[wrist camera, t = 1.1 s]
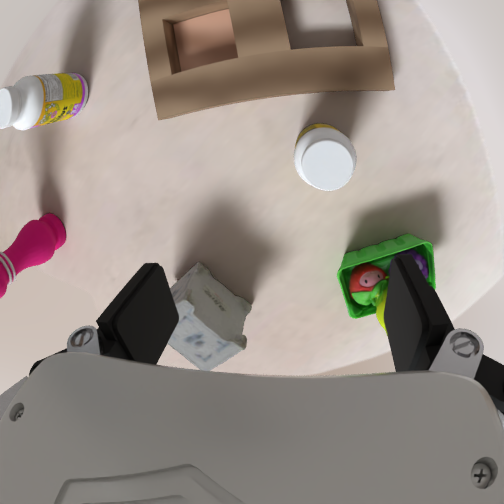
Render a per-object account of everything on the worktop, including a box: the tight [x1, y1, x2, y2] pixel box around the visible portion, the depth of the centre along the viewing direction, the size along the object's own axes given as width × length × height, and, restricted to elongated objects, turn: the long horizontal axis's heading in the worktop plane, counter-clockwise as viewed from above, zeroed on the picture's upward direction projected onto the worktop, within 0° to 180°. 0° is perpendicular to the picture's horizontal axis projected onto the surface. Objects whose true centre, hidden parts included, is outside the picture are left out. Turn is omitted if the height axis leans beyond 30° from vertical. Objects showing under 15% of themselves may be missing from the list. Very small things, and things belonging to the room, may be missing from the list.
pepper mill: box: [0, 213, 66, 298], centre depth 32 cm, size 7×7×20 cm
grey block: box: [168, 262, 252, 371], centre depth 36 cm, size 10×8×10 cm
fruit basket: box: [337, 234, 436, 336], centre depth 29 cm, size 11×9×11 cm
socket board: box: [138, 0, 395, 120], centre depth 21 cm, size 16×24×3 cm, turn 100°
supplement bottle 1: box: [0, 73, 88, 130], centre depth 23 cm, size 7×7×13 cm
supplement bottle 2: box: [294, 123, 356, 191], centre depth 24 cm, size 5×5×10 cm
